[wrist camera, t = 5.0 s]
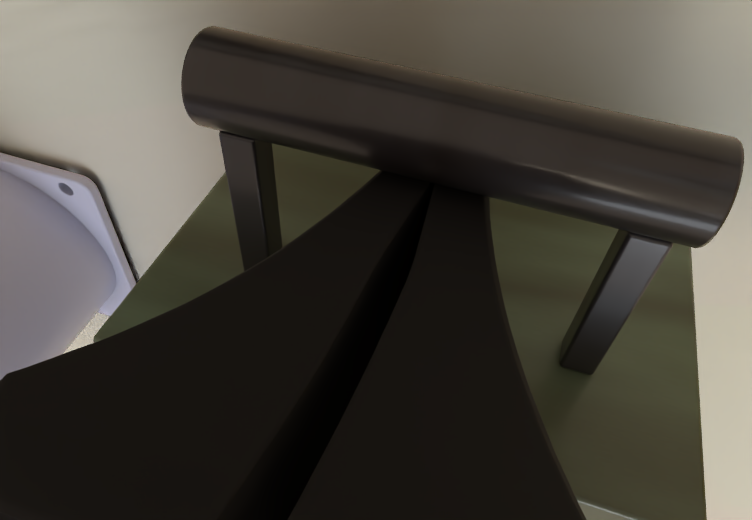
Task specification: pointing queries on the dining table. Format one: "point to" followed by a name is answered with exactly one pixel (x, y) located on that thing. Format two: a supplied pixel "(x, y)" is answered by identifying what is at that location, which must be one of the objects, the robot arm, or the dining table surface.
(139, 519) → the robot arm
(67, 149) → the dining table surface
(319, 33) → the dining table surface
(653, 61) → the dining table surface
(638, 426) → the drawer
